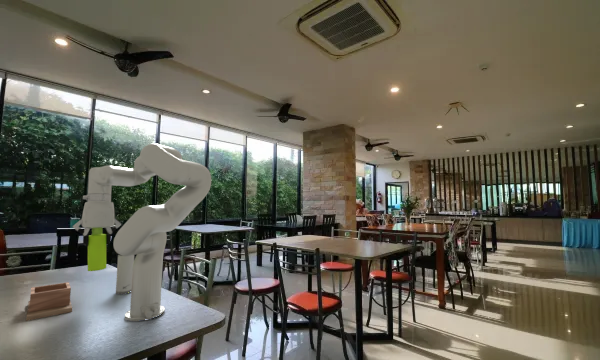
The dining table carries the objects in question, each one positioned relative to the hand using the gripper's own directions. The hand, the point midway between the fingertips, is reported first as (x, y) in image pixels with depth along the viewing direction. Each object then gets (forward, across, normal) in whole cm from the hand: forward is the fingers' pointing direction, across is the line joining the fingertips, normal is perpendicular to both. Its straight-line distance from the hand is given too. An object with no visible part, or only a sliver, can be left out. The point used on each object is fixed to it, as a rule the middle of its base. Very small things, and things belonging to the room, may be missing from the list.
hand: (97, 244), depth 108 cm
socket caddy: (+23, -12, +10) cm, 28 cm away
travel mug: (+24, +13, +13) cm, 30 cm away
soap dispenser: (+10, 0, 0) cm, 10 cm away
